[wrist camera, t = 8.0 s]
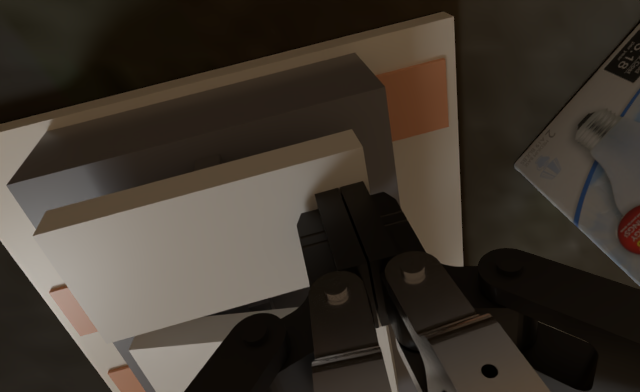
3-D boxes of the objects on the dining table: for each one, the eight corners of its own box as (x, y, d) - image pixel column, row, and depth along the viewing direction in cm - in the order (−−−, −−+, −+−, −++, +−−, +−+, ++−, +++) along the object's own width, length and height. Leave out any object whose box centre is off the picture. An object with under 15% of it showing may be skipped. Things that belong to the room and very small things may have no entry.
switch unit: (443, 11, 19) (520, 50, 14) (458, 314, 29) (506, 398, 24) (-55, 138, 18) (-154, 224, 13) (136, 405, 28) (119, 510, 23)
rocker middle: (383, 298, 16) (385, 325, 15) (396, 375, 19) (399, 404, 18) (140, 323, 18) (128, 349, 17) (182, 392, 20) (174, 419, 19)
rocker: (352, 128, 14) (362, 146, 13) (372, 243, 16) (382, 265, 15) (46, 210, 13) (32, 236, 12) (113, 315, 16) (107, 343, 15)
